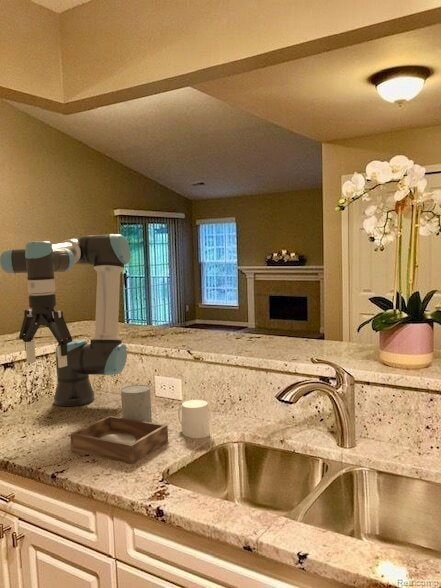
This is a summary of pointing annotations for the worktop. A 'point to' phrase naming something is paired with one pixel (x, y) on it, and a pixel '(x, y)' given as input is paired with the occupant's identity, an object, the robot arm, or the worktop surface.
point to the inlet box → (119, 439)
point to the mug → (194, 418)
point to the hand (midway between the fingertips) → (46, 364)
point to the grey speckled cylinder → (136, 403)
